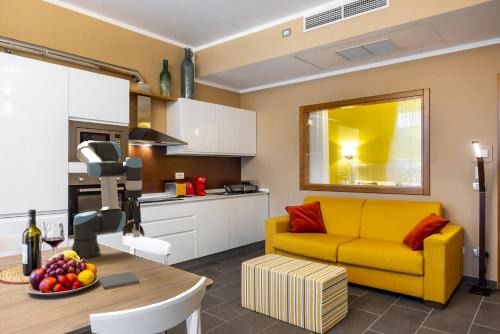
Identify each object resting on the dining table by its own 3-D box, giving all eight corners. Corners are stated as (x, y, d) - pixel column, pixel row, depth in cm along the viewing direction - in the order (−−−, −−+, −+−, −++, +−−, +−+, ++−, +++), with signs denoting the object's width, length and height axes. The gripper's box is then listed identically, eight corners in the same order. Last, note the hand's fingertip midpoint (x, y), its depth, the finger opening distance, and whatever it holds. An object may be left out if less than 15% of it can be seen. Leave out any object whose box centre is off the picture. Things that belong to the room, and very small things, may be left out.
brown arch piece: (144, 238, 165) (135, 224, 162) (126, 247, 165) (117, 233, 162) (148, 227, 176) (140, 214, 174) (131, 235, 176) (123, 222, 174)
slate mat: (97, 279, 150) (97, 277, 150) (130, 273, 158) (130, 271, 158) (104, 289, 139) (104, 286, 139) (139, 282, 147) (139, 280, 147)
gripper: (120, 188, 176) (119, 232, 176) (132, 191, 157) (131, 240, 157) (135, 187, 180) (135, 230, 180) (148, 190, 161) (148, 238, 161)
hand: (133, 235), depth 169 cm, fingers closed on brown arch piece, 10 cm apart
